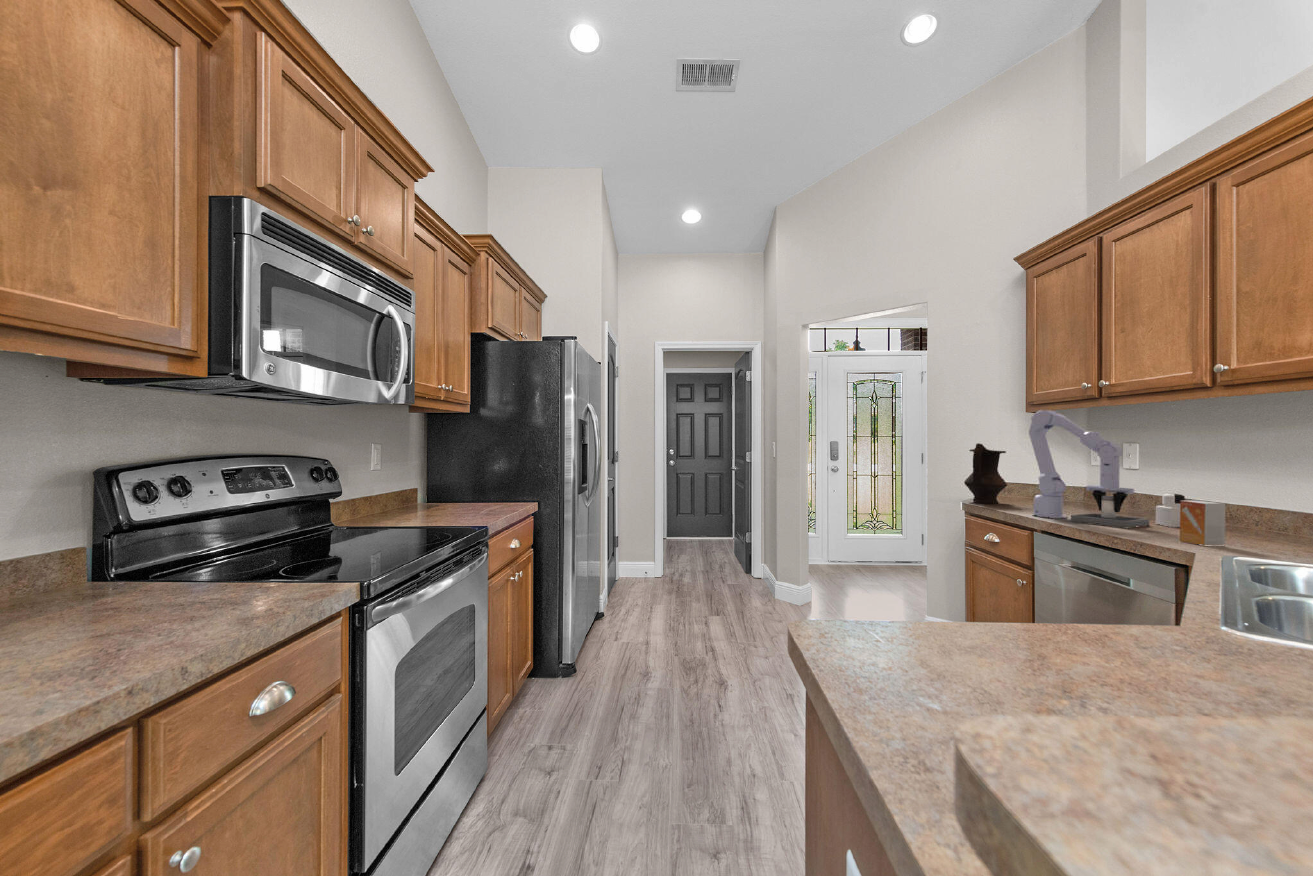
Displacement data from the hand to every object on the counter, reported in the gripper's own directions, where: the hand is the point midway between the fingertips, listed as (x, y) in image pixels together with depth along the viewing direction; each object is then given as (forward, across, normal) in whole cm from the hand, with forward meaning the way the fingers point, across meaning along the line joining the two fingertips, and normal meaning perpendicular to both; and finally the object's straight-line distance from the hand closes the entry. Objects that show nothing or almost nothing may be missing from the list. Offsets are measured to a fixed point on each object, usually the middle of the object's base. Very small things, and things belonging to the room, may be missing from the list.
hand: (1109, 511), depth 208 cm
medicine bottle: (+5, +13, +16) cm, 21 cm away
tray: (+5, 0, 0) cm, 5 cm away
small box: (+5, +34, -22) cm, 41 cm away
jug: (+5, -63, +22) cm, 67 cm away
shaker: (+2, 0, 0) cm, 2 cm away
